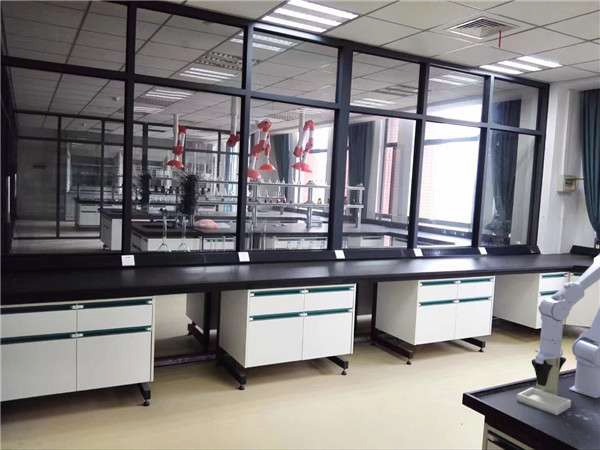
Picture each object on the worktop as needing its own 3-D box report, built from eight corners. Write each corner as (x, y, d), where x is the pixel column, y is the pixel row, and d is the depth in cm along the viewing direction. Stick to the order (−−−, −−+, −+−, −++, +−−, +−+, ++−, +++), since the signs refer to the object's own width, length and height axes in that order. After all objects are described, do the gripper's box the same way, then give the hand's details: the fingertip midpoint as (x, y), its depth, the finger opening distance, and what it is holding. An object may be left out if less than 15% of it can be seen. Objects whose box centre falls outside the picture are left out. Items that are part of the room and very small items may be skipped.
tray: (531, 393, 149) (531, 387, 149) (570, 407, 140) (571, 400, 140) (516, 400, 143) (517, 394, 143) (557, 415, 134) (557, 408, 134)
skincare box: (557, 398, 146) (561, 358, 145) (542, 396, 147) (545, 356, 146) (550, 390, 153) (553, 351, 152) (535, 388, 153) (538, 350, 152)
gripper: (547, 331, 156) (543, 373, 157) (526, 338, 147) (522, 382, 148) (571, 337, 151) (567, 380, 152) (551, 344, 142) (547, 390, 143)
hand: (547, 382), depth 150 cm, fingers closed on skincare box, 7 cm apart
